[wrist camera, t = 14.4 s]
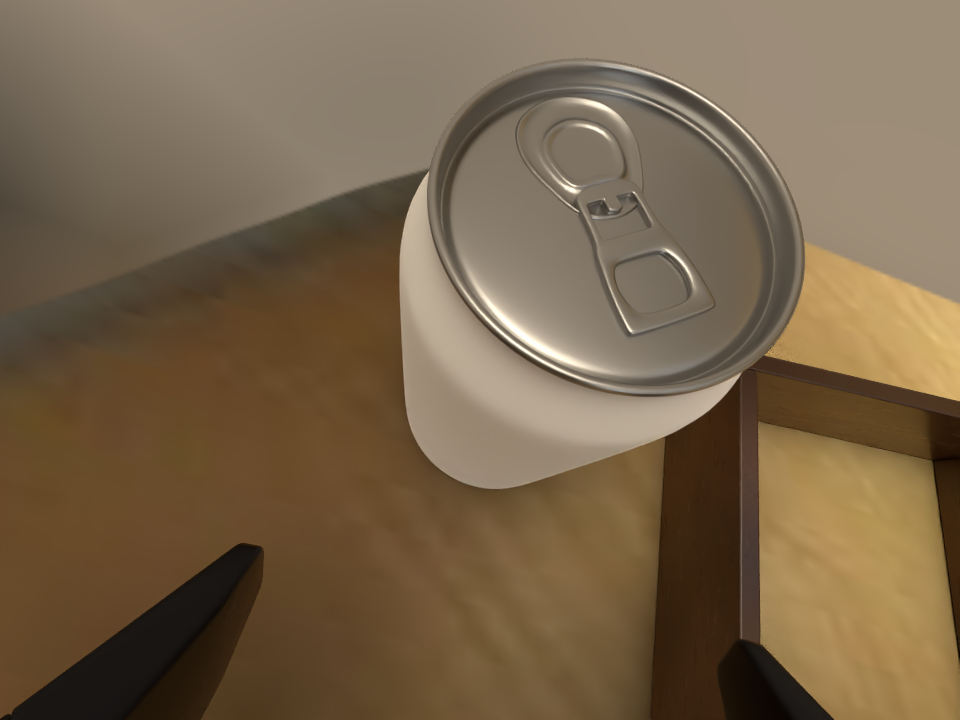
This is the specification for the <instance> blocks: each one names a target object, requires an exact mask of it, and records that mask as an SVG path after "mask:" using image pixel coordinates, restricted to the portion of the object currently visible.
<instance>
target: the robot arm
mask: <svg viewBox="0 0 960 720" xmlns="http://www.w3.org/2000/svg"><path fill="white" fill-rule="evenodd" d="M263 561H264V550H263V548H262V547H261V546H257V545H252V544H247V543H240V544H238V545H236V546H235V547H233V548H232V549H230V550H229V551H228V552H226V553H225V554H224V555H222V556H221V557H220V558H218V559H217V560H216V561H214V562H213V563H211V564H210V565H209V566H207V567H206V568H205V569H203V570H202V571H201V572H199V573H198V574H197V575H195V576H194V577H192V578H191V579H190V580H188V581H187V582H186V583H184V584H183V585H182V586H180V587H179V588H178V589H176V590H175V591H173V592H172V593H171V594H169V595H168V596H167V597H165V598H164V599H163V600H161V601H160V602H159V603H157V604H156V605H154V606H153V607H152V608H150V609H149V610H148V611H146V612H145V613H144V614H142V615H141V616H139V617H138V618H137V619H135V620H134V621H133V622H131V623H130V624H129V625H127V626H126V627H125V628H123V629H122V630H120V631H119V632H118V633H116V634H115V635H114V636H112V637H111V638H110V639H108V640H107V641H106V642H104V643H103V644H101V645H100V646H99V647H97V648H96V649H95V650H93V651H92V652H91V653H89V654H88V655H87V656H85V657H84V658H82V659H81V660H80V661H78V662H77V663H76V664H74V665H73V666H72V667H70V668H69V669H68V670H66V671H65V672H63V673H62V674H61V675H59V676H58V677H57V678H55V679H54V680H53V681H51V682H50V683H49V684H47V685H46V686H44V687H43V688H42V689H40V690H39V691H38V692H36V693H35V694H34V695H32V696H31V697H30V698H28V699H27V700H25V701H24V702H23V703H21V704H20V705H19V706H17V707H16V708H15V709H14V710H13V712H12V715H11V714H7V715H5V716H3V717H2V718H1V719H0V720H201V718H202V716H203V714H204V712H205V711H206V709H207V707H208V705H209V703H210V701H211V699H212V698H213V696H214V694H215V692H216V690H217V688H218V686H219V684H220V682H221V680H222V677H223V675H224V673H225V671H226V668H227V666H228V664H229V661H230V659H231V657H232V654H233V652H234V650H235V647H236V645H237V642H238V640H239V638H240V635H241V633H242V630H243V628H244V626H245V623H246V621H247V619H248V616H249V614H250V611H251V609H252V607H253V604H254V602H255V600H256V597H257V595H258V592H259V590H260V587H261V583H262V578H263ZM717 681H718V686H719V690H720V695H721V700H722V705H723V710H724V715H725V720H834V719H833V718H832V717H831V716H830V715H829V714H828V713H827V712H826V711H825V710H824V709H823V708H822V707H821V706H820V705H819V704H818V703H817V701H816V700H815V699H814V698H813V697H812V696H811V695H810V694H809V693H808V692H807V691H806V690H805V689H804V688H803V687H802V686H801V685H800V684H799V683H798V682H797V681H796V680H795V679H794V678H793V677H792V676H791V674H790V673H789V672H788V671H787V670H786V669H785V668H784V667H783V666H782V665H781V664H780V663H779V662H778V661H777V660H776V659H775V658H774V657H773V656H772V655H771V654H770V653H769V652H768V651H767V650H766V649H765V648H764V647H763V646H762V645H761V644H759V643H757V642H754V641H749V640H744V639H737V640H735V641H734V642H733V643H732V644H731V646H730V647H729V649H728V650H727V651H726V653H725V654H724V656H723V657H722V658H721V660H720V661H719V663H718V666H717Z"/></svg>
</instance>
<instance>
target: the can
mask: <svg viewBox="0 0 960 720" xmlns="http://www.w3.org/2000/svg"><path fill="white" fill-rule="evenodd" d="M804 270H805V247H804V238H803V232H802V227H801V222H800V218H799V215H798V211H797V209H796V206H795V203H794V200H793V197H792V195H791V193H790V190H789V188H788V186H787V184H786V182H785V180H784V178H783V177H782V175H781V173H780V171H779V170H778V168H777V166H776V165H775V163H774V162H773V160H772V159H771V158H770V156H769V155H768V153H767V152H766V151H765V149H764V148H763V147H762V146H761V144H760V143H759V142H758V141H757V140H756V139H755V137H753V136H752V134H751V133H750V132H749V131H748V130H747V129H746V128H745V127H744V126H743V125H742V124H741V123H740V122H738V120H736V119H735V118H734V117H733V116H732V115H731V114H729V113H728V112H727V111H726V110H725V109H723V108H722V107H720V106H719V105H718V104H716V103H715V102H713V101H712V100H711V99H709V98H708V97H706V96H705V95H703V94H701V93H700V92H698V91H696V90H694V89H693V88H691V87H689V86H687V85H685V84H683V83H681V82H679V81H677V80H675V79H673V78H671V77H668V76H666V75H663V74H661V73H658V72H655V71H652V70H649V69H646V68H643V67H639V66H635V65H632V64H627V63H622V62H617V61H611V60H602V59H589V58H575V59H574V58H573V59H560V60H553V61H546V62H541V63H537V64H533V65H529V66H526V67H523V68H520V69H517V70H515V71H512V72H510V73H508V74H506V75H503V76H501V77H499V78H497V79H496V80H494V81H492V82H490V83H489V84H487V85H486V86H484V87H483V88H482V89H480V90H479V91H478V92H476V93H475V94H474V95H473V96H472V97H470V98H469V99H468V100H467V101H466V102H465V103H464V105H462V106H461V108H460V109H459V110H458V111H457V112H456V113H455V115H454V116H453V117H452V119H451V120H450V122H449V123H448V125H447V126H446V128H445V130H444V132H443V133H442V135H441V137H440V139H439V142H438V144H437V146H436V149H435V152H434V154H433V158H432V161H431V166H430V170H429V172H428V173H427V175H426V176H425V178H424V179H423V181H422V183H421V184H420V186H419V188H418V190H417V191H416V194H415V196H414V198H413V200H412V202H411V205H410V208H409V210H408V213H407V217H406V220H405V225H404V230H403V236H402V242H401V250H400V311H401V334H402V354H403V373H404V390H405V403H406V411H407V417H408V421H409V425H410V428H411V430H412V433H413V435H414V437H415V439H416V441H417V443H418V445H419V446H420V448H421V450H422V451H423V452H424V454H425V455H426V456H427V457H428V459H429V460H430V461H431V462H432V463H433V464H434V465H435V466H437V467H438V468H439V469H440V470H441V471H443V472H444V473H446V474H447V475H449V476H450V477H452V478H454V479H456V480H458V481H460V482H463V483H465V484H468V485H471V486H475V487H480V488H488V489H505V488H512V487H517V486H521V485H525V484H528V483H532V482H535V481H538V480H541V479H544V478H547V477H551V476H554V475H557V474H560V473H563V472H566V471H569V470H572V469H575V468H578V467H581V466H584V465H587V464H590V463H593V462H596V461H599V460H602V459H605V458H608V457H611V456H614V455H617V454H620V453H622V452H625V451H628V450H631V449H634V448H637V447H639V446H642V445H645V444H648V443H650V442H653V441H655V440H657V439H660V438H662V437H665V436H667V435H669V434H672V433H674V432H676V431H678V430H680V429H681V428H683V427H685V426H686V425H688V424H690V423H691V422H693V421H695V420H696V419H698V418H699V417H701V416H702V415H704V414H705V413H706V412H708V411H709V410H710V409H711V408H712V407H714V406H715V405H716V404H717V403H718V402H719V401H720V400H721V399H722V398H723V397H724V396H725V395H726V394H727V392H728V391H729V390H730V389H731V387H732V386H733V385H734V383H735V382H736V381H737V379H738V378H739V376H740V375H741V373H742V372H743V371H745V370H746V369H748V368H749V367H750V366H752V365H753V364H754V363H756V362H757V361H758V360H759V359H760V358H761V357H763V356H764V355H765V354H766V353H767V352H768V351H769V350H770V349H771V347H772V346H773V345H774V344H775V343H776V342H777V340H778V339H779V338H780V336H781V335H782V333H783V332H784V330H785V329H786V327H787V325H788V324H789V322H790V320H791V318H792V316H793V314H794V311H795V309H796V306H797V304H798V301H799V297H800V294H801V290H802V285H803V279H804Z"/></svg>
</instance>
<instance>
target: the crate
mask: <svg viewBox="0 0 960 720" xmlns="http://www.w3.org/2000/svg"><path fill="white" fill-rule="evenodd" d="M758 421H762V422H766V423H771V424H775V425H780V426H784V427H788V428H793V429H797V430H802V431H806V432H811V433H815V434H819V435H824V436H828V437H833V438H837V439H842V440H846V441H851V442H855V443H859V444H864V445H868V446H873V447H877V448H882V449H886V450H890V451H895V452H899V453H904V454H908V455H913V456H917V457H922V458H926V459H930V460H935V461H934V466H935V474H936V481H937V488H938V496H939V503H940V511H941V518H942V526H943V533H944V540H945V548H946V555H947V563H948V570H949V577H950V585H951V592H952V600H953V607H954V615H955V622H956V629H957V637H958V644H959V652H960V401H956V400H951V399H947V398H943V397H939V396H934V395H930V394H926V393H922V392H917V391H913V390H909V389H905V388H900V387H896V386H892V385H888V384H883V383H879V382H875V381H871V380H866V379H862V378H858V377H854V376H849V375H845V374H841V373H837V372H832V371H828V370H824V369H819V368H815V367H811V366H807V365H802V364H798V363H794V362H790V361H785V360H781V359H777V358H773V357H768V356H763V357H761V358H760V359H759V360H758V361H757V362H756V363H754V364H753V365H752V366H750V367H749V368H748V369H746V370H745V371H743V372H742V373H741V375H740V376H739V378H738V379H737V381H736V382H735V383H734V385H733V386H732V387H731V389H730V390H729V391H728V392H727V394H726V395H725V396H724V397H723V398H722V399H721V400H720V401H719V402H718V403H717V404H716V405H715V406H714V407H712V408H711V409H710V410H709V411H708V412H706V413H705V414H704V415H702V416H701V417H699V418H698V419H696V420H695V421H693V422H691V423H690V424H688V425H686V426H685V427H683V428H681V429H680V430H678V431H676V432H674V433H672V434H669V435H667V436H666V451H665V469H664V487H663V505H662V523H661V542H660V560H659V578H658V596H657V614H656V632H655V650H654V668H653V687H652V705H651V720H725V715H724V710H723V705H722V700H721V695H720V690H719V686H718V681H717V666H718V663H719V661H720V660H721V658H722V657H723V656H724V654H725V653H726V651H727V650H728V649H729V647H730V646H731V644H732V643H733V642H734V641H735V640H737V639H744V640H749V641H754V642H757V643H759V644H760V573H759V480H758Z"/></svg>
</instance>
